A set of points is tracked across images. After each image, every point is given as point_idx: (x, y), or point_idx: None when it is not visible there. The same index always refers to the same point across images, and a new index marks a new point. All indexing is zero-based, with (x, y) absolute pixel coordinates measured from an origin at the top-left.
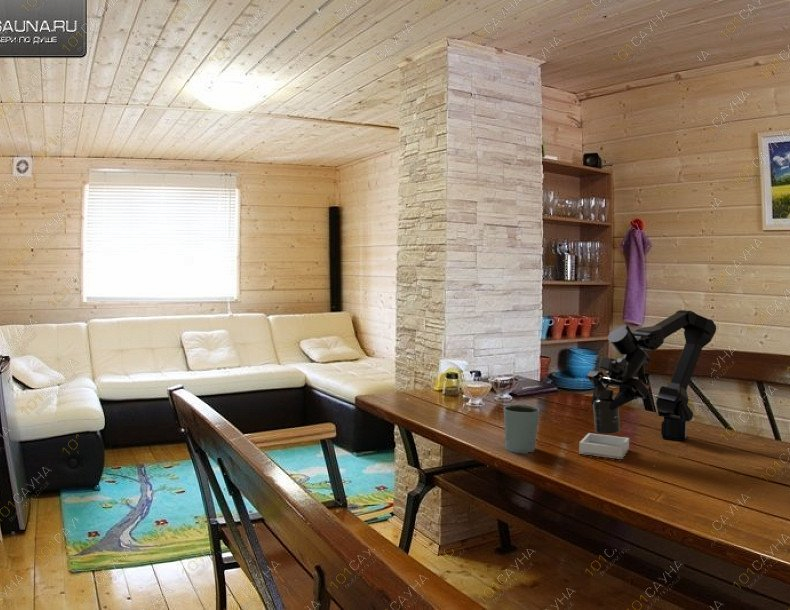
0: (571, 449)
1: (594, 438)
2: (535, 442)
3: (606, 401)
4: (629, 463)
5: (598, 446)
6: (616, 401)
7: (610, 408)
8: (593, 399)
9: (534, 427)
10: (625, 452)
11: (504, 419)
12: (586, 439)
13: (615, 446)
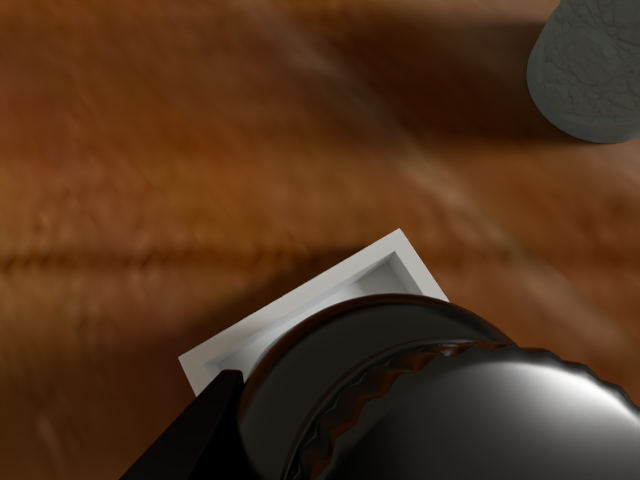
0: (484, 285)
1: None
2: (571, 103)
3: (287, 366)
4: (150, 353)
5: (302, 286)
6: (140, 462)
7: (230, 371)
8: None
9: (593, 5)
10: None
11: None
12: None
13: (223, 348)
